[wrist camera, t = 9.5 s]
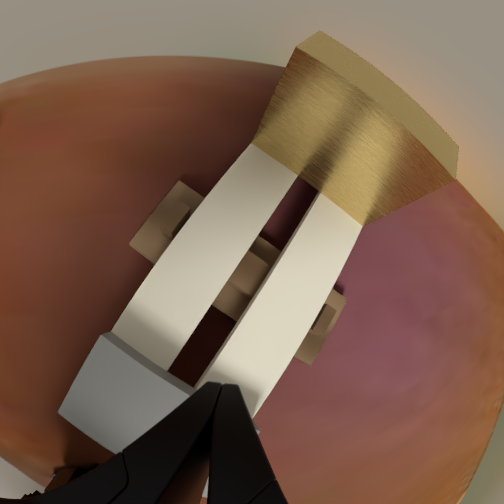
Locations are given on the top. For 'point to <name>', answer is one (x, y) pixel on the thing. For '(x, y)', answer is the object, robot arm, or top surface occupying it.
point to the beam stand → (245, 274)
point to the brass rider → (353, 132)
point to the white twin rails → (200, 299)
